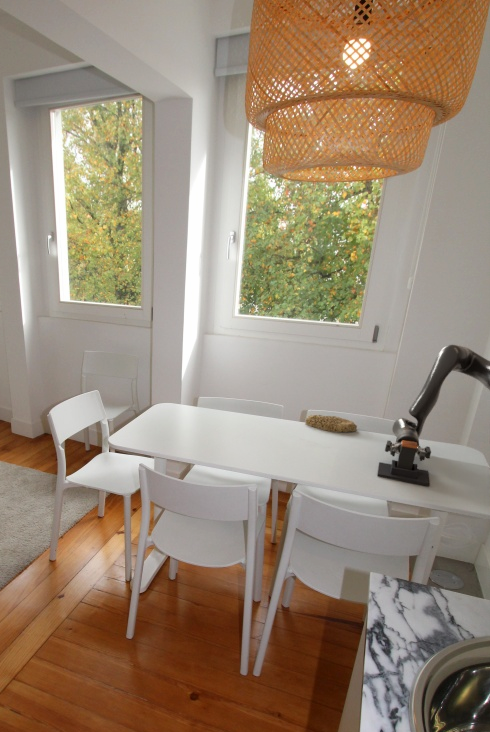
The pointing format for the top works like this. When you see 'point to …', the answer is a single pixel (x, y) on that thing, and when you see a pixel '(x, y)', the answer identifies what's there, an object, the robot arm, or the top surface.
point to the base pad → (403, 473)
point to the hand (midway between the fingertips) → (407, 456)
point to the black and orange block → (407, 455)
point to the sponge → (331, 423)
